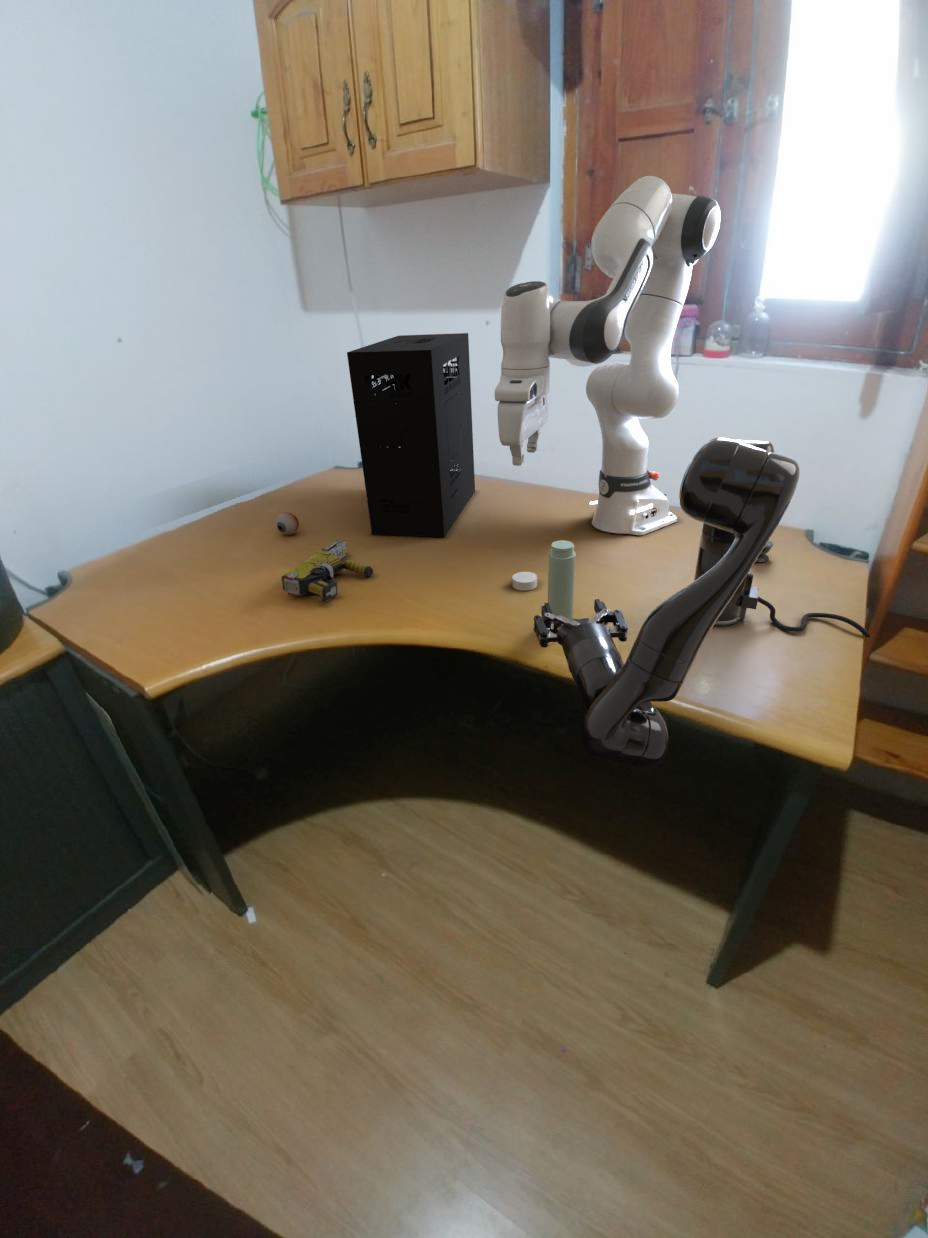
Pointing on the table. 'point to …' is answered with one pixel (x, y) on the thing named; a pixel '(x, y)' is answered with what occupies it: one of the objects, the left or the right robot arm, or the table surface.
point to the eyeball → (287, 523)
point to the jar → (561, 578)
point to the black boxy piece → (414, 431)
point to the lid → (524, 581)
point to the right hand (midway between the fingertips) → (571, 605)
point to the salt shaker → (763, 556)
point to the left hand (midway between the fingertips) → (525, 457)
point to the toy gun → (321, 572)
